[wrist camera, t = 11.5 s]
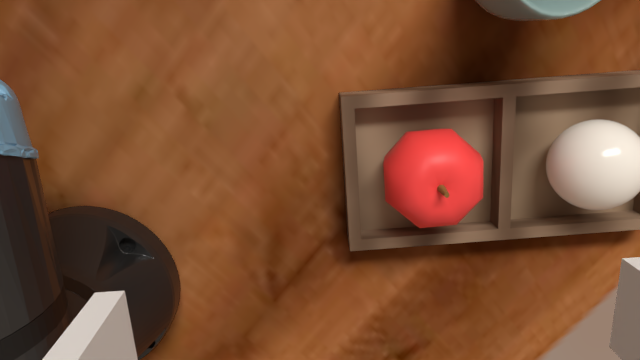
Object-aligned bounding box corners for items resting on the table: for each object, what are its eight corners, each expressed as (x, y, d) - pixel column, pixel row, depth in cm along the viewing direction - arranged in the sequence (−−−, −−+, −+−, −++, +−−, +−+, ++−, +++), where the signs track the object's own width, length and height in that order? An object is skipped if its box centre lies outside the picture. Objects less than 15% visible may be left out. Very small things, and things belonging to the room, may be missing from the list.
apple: (398, 224, 42) (418, 266, 35) (357, 145, 40) (369, 172, 33) (482, 183, 42) (522, 217, 34) (445, 100, 39) (478, 117, 32)
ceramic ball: (528, 196, 42) (570, 227, 35) (532, 115, 40) (578, 132, 33) (609, 190, 42) (666, 220, 35) (618, 109, 40) (680, 125, 33)
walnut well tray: (347, 239, 43) (349, 251, 41) (339, 92, 40) (340, 96, 37) (638, 217, 43) (657, 228, 41) (657, 68, 40) (679, 70, 37)
